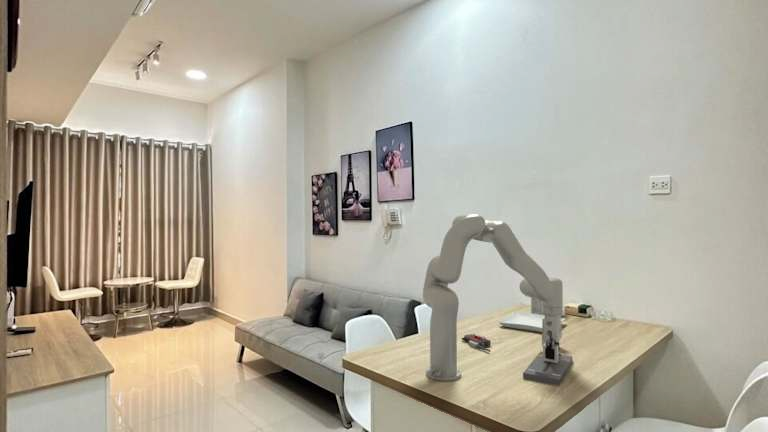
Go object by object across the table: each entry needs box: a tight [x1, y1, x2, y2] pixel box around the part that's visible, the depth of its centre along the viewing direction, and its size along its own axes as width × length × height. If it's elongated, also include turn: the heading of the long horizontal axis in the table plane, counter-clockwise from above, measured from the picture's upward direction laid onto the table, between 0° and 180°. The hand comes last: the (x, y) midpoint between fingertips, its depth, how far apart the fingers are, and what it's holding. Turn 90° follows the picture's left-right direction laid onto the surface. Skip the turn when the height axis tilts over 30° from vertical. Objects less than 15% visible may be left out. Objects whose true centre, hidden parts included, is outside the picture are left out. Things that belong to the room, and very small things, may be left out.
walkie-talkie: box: [461, 333, 491, 353], centre depth 181 cm, size 9×4×20 cm
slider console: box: [522, 350, 573, 387], centre depth 152 cm, size 28×12×3 cm, turn 147°
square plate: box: [498, 311, 566, 333], centre depth 215 cm, size 27×27×4 cm
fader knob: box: [542, 343, 560, 363], centre depth 154 cm, size 3×5×6 cm, turn 57°
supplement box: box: [530, 298, 543, 315], centre depth 240 cm, size 13×13×18 cm
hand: (552, 355), depth 157 cm, fingers open, 8 cm apart
